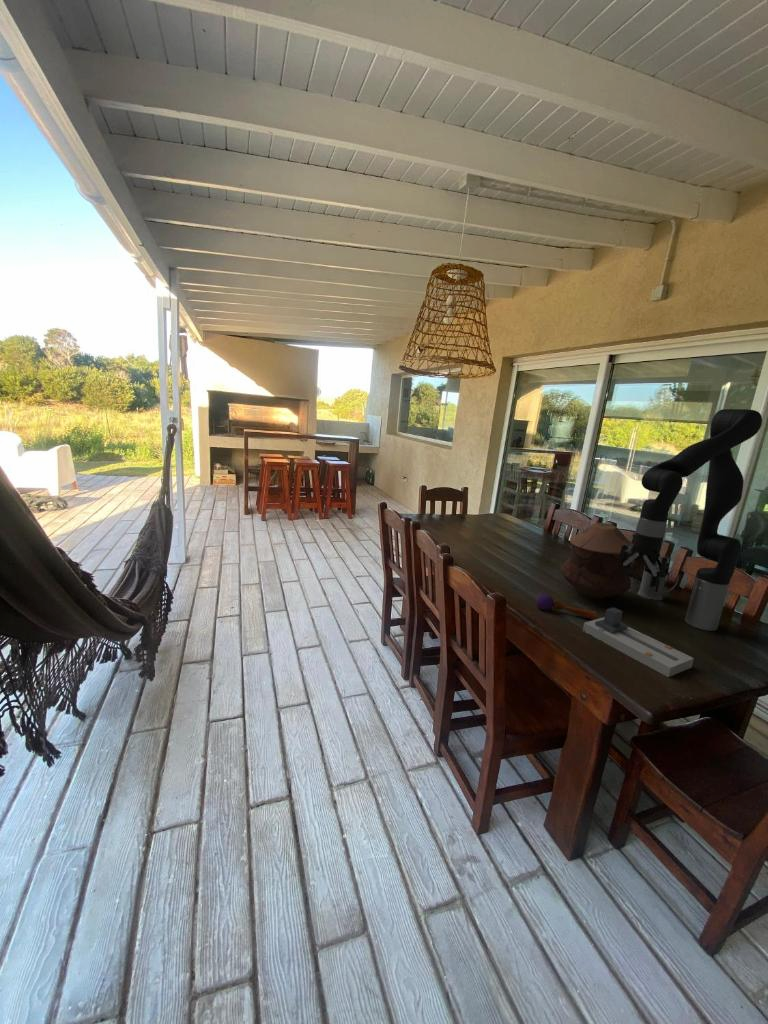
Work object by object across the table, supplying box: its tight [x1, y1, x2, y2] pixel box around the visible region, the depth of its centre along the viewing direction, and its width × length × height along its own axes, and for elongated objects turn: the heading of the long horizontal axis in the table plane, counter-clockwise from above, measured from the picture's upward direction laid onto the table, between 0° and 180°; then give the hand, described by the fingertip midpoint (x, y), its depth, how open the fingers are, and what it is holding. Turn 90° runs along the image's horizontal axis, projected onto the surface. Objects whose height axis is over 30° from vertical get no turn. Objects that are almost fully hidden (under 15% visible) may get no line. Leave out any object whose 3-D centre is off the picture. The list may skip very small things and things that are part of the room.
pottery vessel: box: [560, 522, 633, 600], centre depth 162 cm, size 26×26×30 cm
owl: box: [629, 533, 645, 582], centre depth 187 cm, size 13×13×20 cm
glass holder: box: [637, 560, 680, 601], centre depth 164 cm, size 9×14×15 cm, turn 15°
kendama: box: [535, 593, 597, 621], centre depth 147 cm, size 6×6×20 cm
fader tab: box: [595, 607, 629, 633], centre depth 132 cm, size 8×6×6 cm
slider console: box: [582, 616, 694, 678], centre depth 126 cm, size 12×27×3 cm, turn 27°
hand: (638, 581), depth 130 cm, fingers open, 8 cm apart
